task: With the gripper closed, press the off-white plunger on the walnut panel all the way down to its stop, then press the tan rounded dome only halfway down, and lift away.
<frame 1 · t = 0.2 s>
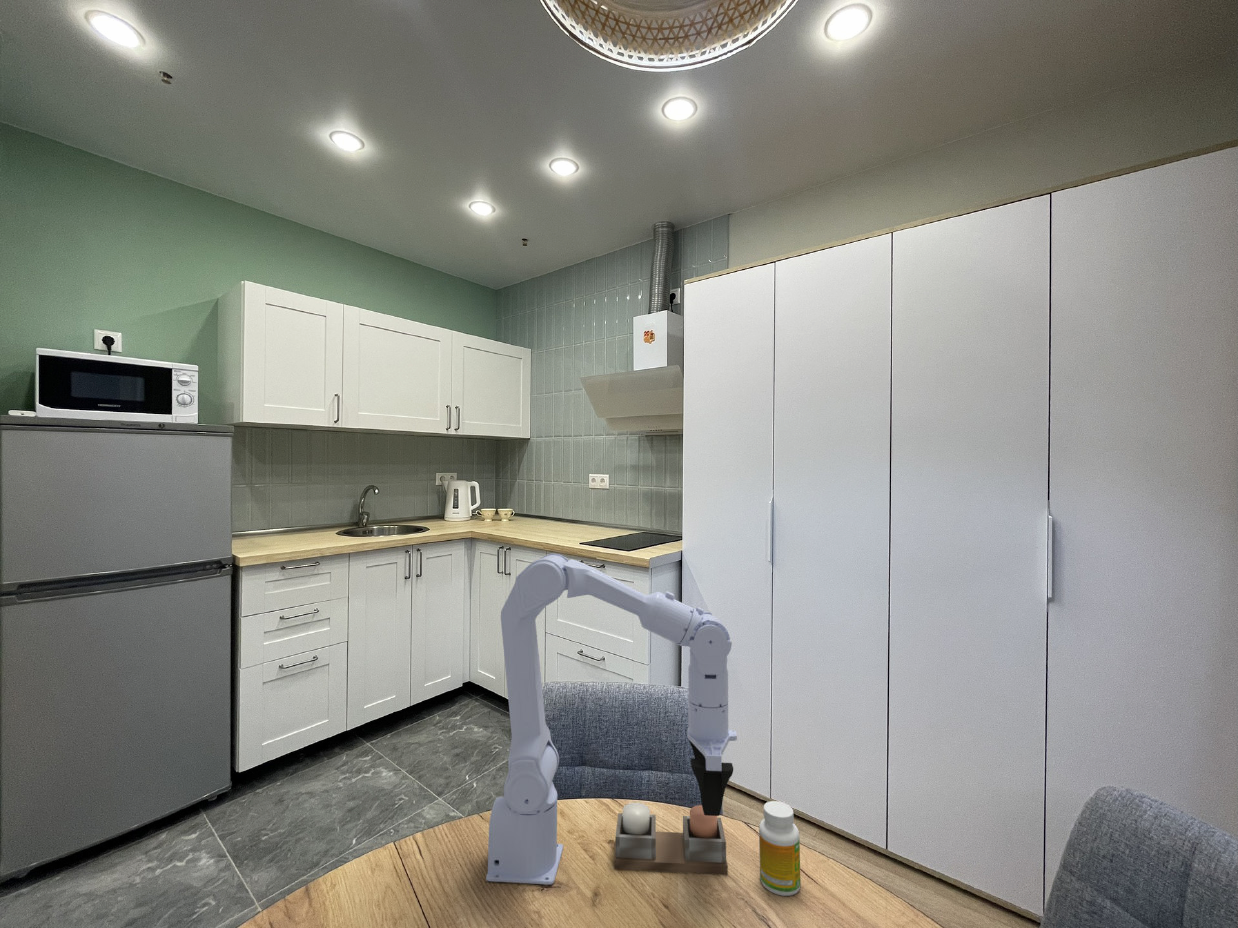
hand: (708, 798, 74), 10 cm above the table, tool pointing down, fingers open, 7 cm apart
supplement bottle: (780, 884, 71), on the table
tan rounded dome: (703, 821, 77), point 5 cm above the table, slide at 0.0 cm
white plunger: (636, 818, 78), point 5 cm above the table, slide at 0.0 cm
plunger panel: (669, 855, 77), on the table
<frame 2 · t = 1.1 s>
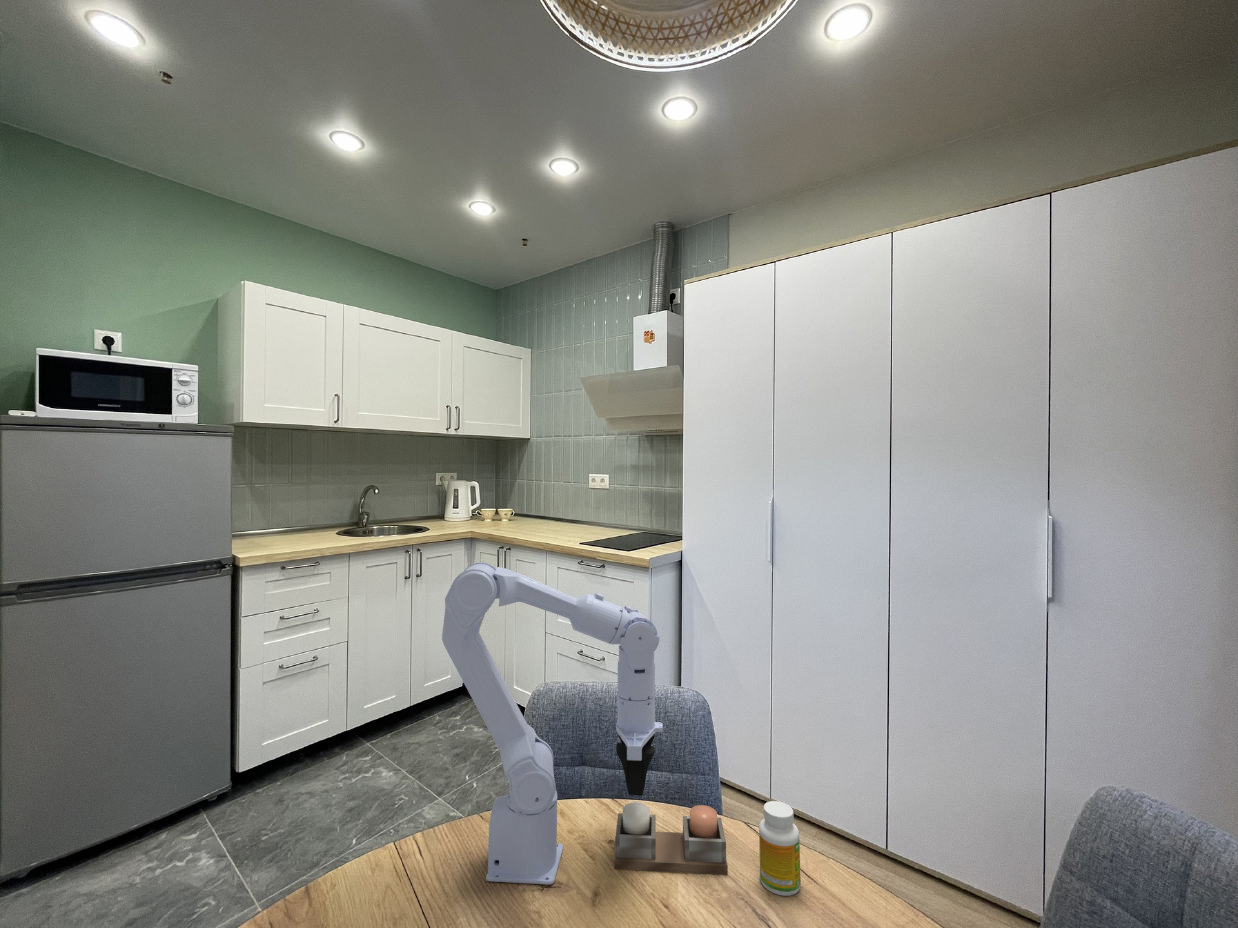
hand: (636, 787, 78), 9 cm above the table, tool pointing down, fingers open, 3 cm apart
nothing on the table moved.
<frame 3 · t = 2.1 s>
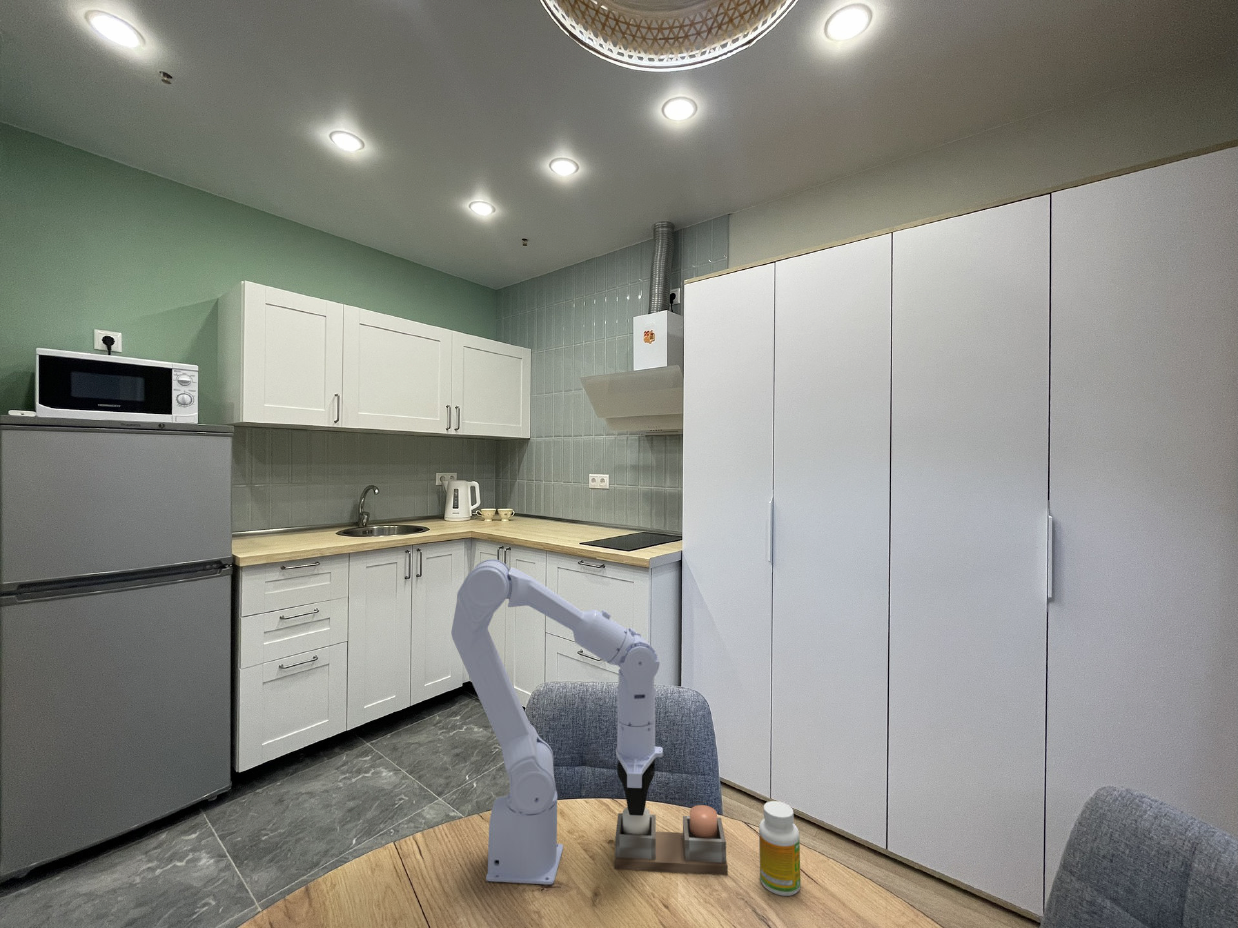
hand: (636, 812, 78), 6 cm above the table, tool pointing down, fingers closed, pressing on white plunger
white plunger: (636, 821, 78), point 5 cm above the table, slide at 0.4 cm, touching gripper
everything else where it was.
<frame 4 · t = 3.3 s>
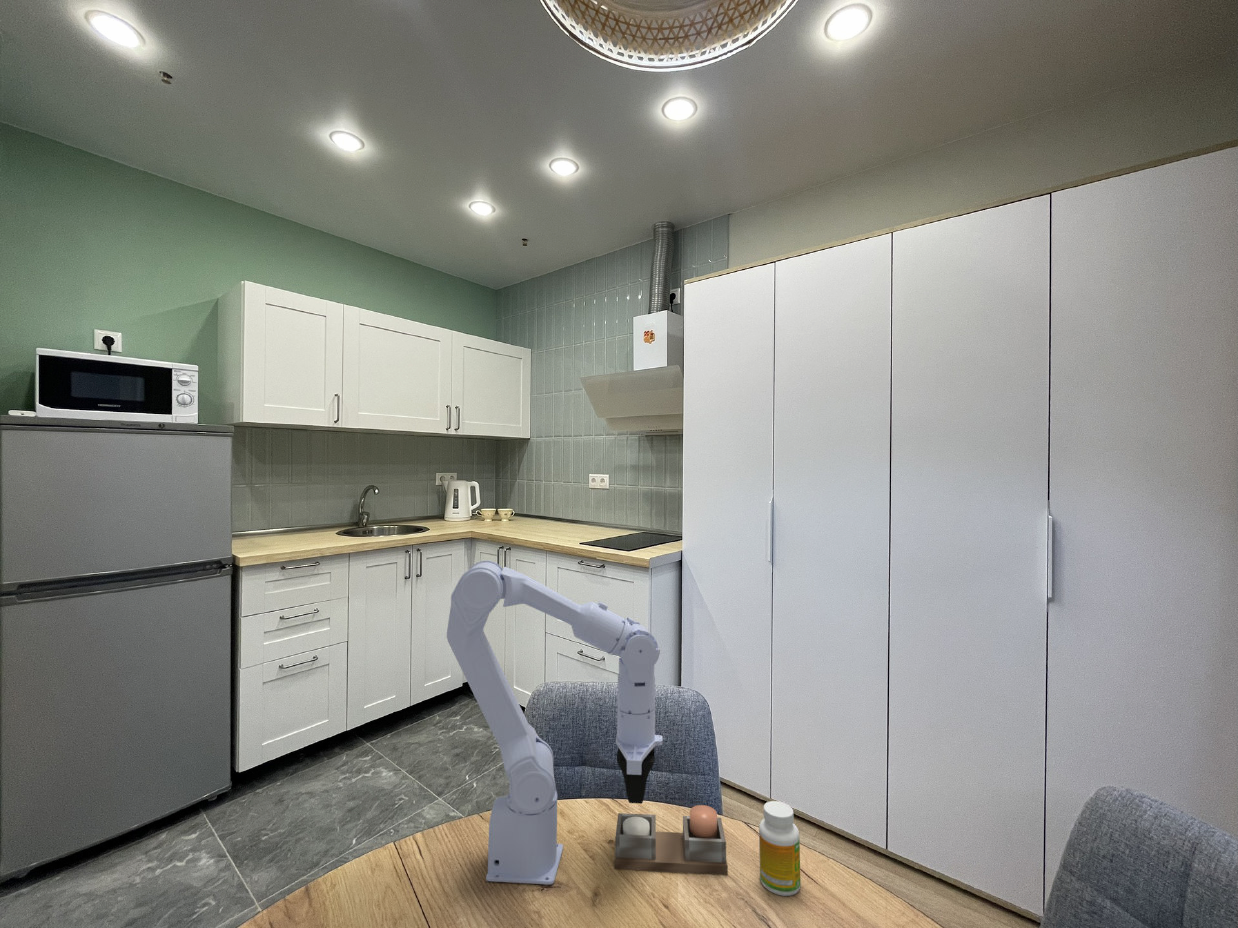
hand: (635, 800, 78), 8 cm above the table, tool pointing down, fingers closed
white plunger: (636, 833, 77), point 3 cm above the table, slide at 2.1 cm
everything else where it was.
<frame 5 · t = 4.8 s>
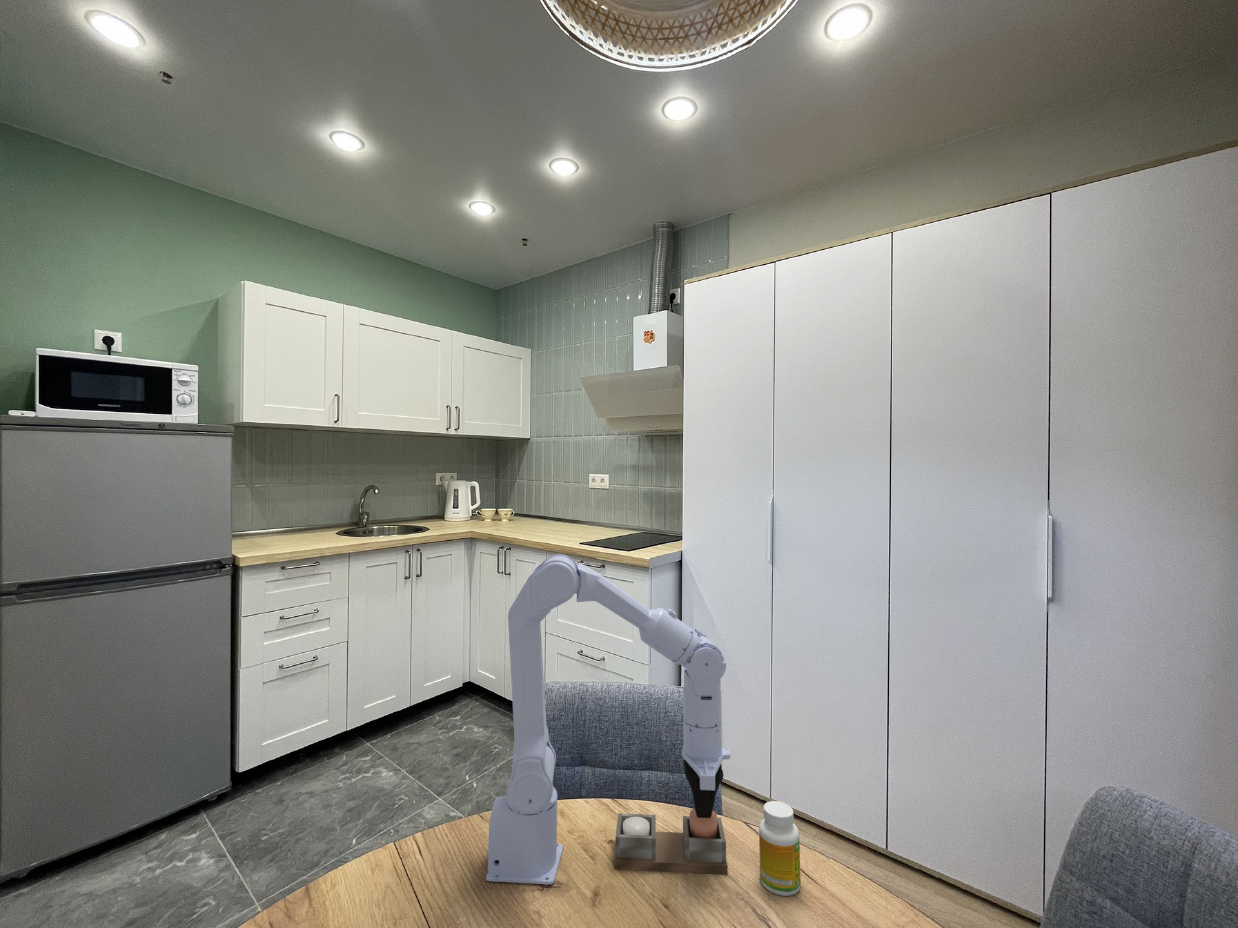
hand: (703, 815, 77), 6 cm above the table, tool pointing down, fingers closed, pressing on tan rounded dome
tan rounded dome: (703, 823, 77), point 5 cm above the table, slide at 0.3 cm, touching gripper
everything else where it was.
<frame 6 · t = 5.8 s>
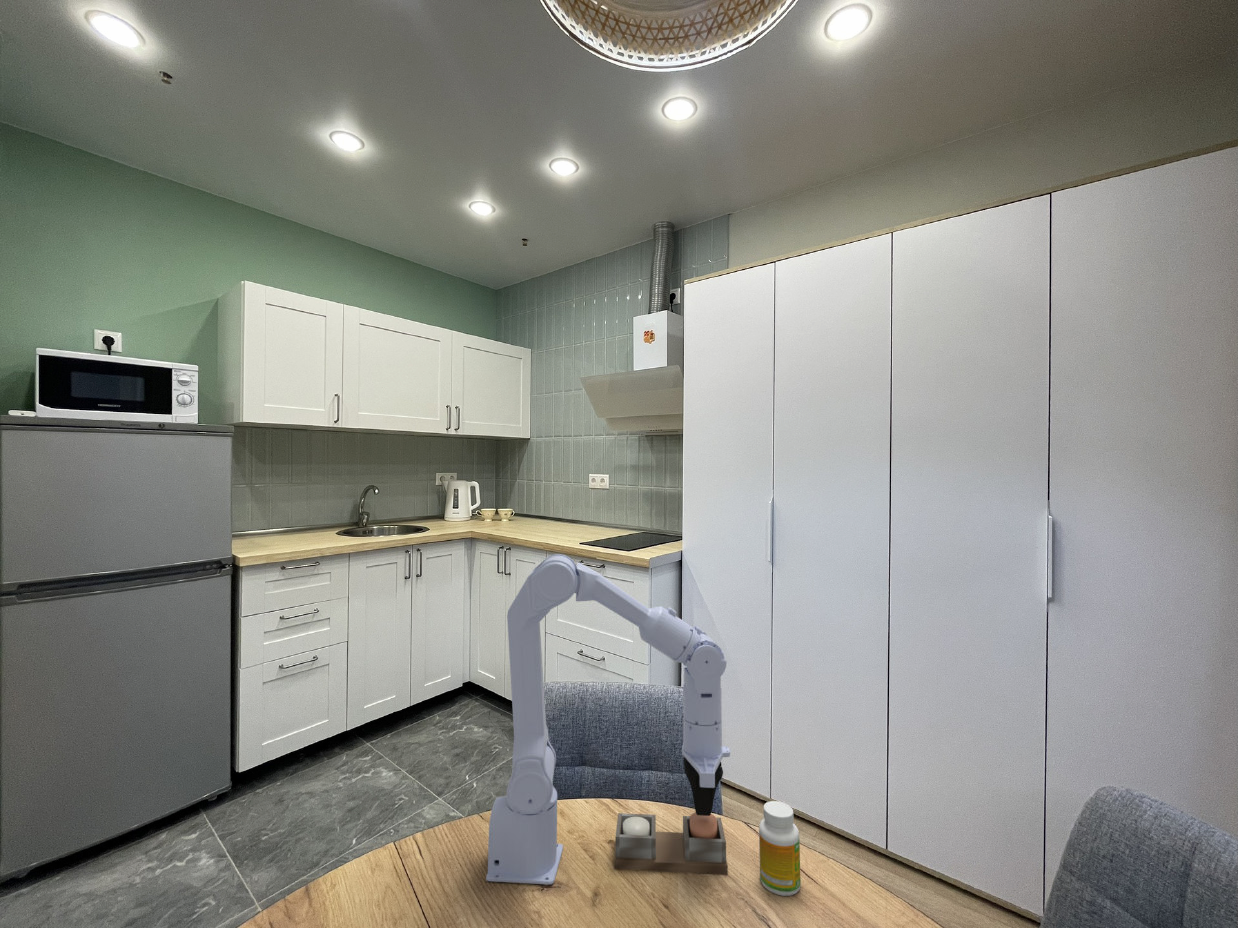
hand: (703, 812, 77), 6 cm above the table, tool pointing down, fingers closed
tan rounded dome: (703, 827, 77), point 4 cm above the table, slide at 0.9 cm
everything else where it was.
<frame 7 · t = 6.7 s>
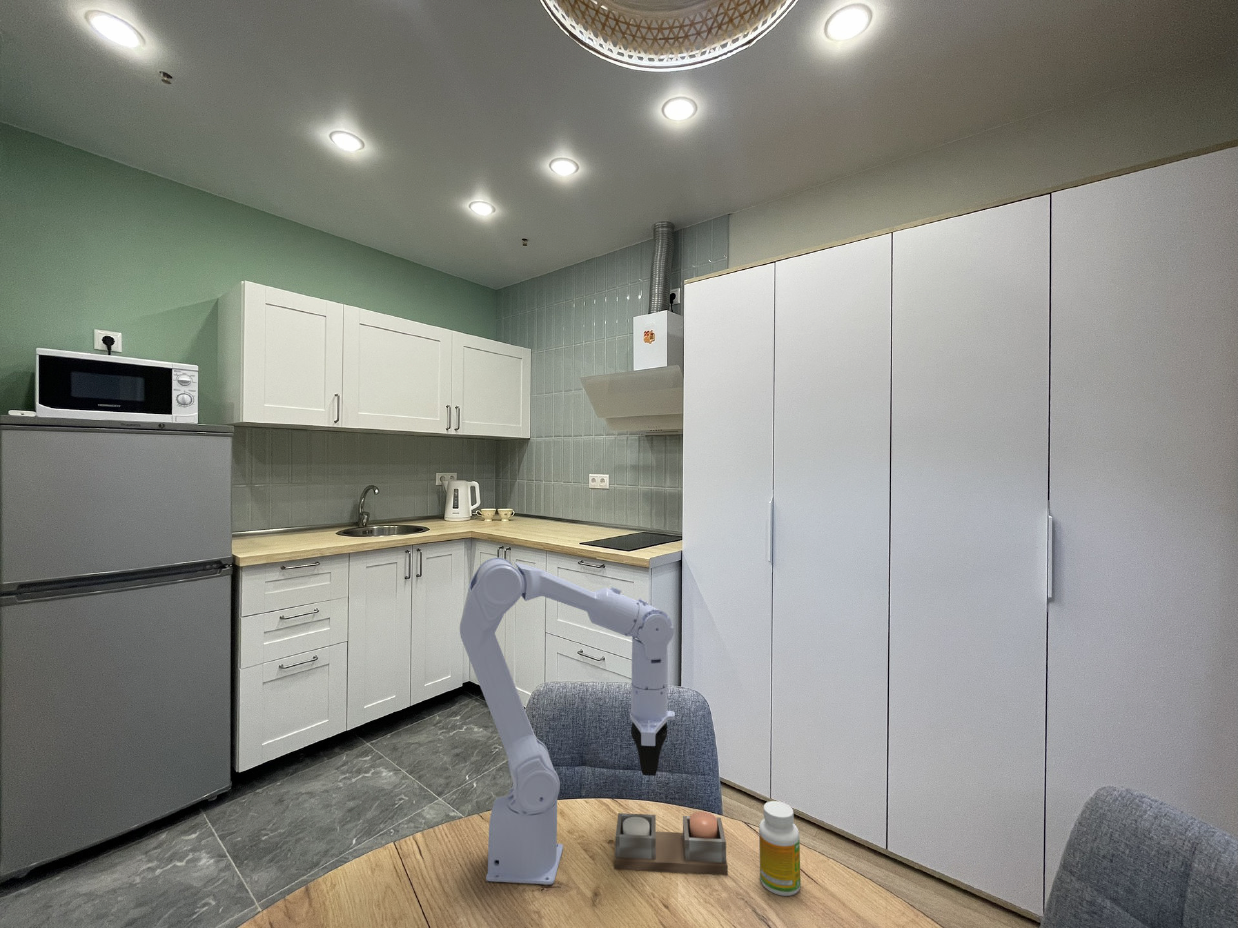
hand: (649, 773, 81), 10 cm above the table, tool pointing down, fingers closed
nothing on the table moved.
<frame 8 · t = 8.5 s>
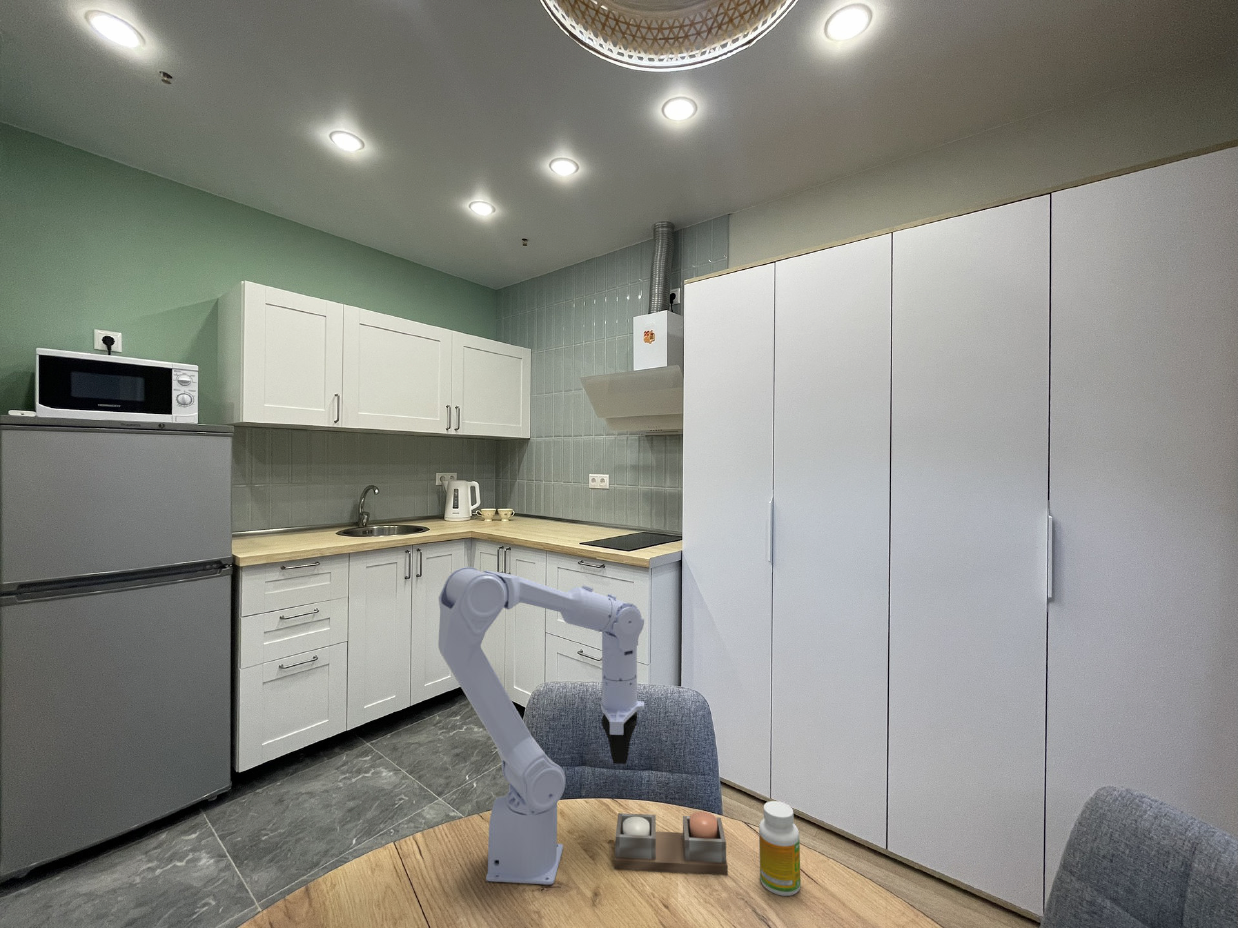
hand: (619, 761, 84), 10 cm above the table, tool pointing down, fingers closed
nothing on the table moved.
at the end: white plunger slide at 2.1 cm; tan rounded dome slide at 0.9 cm; supplement bottle moved 0.2 cm from its start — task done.
